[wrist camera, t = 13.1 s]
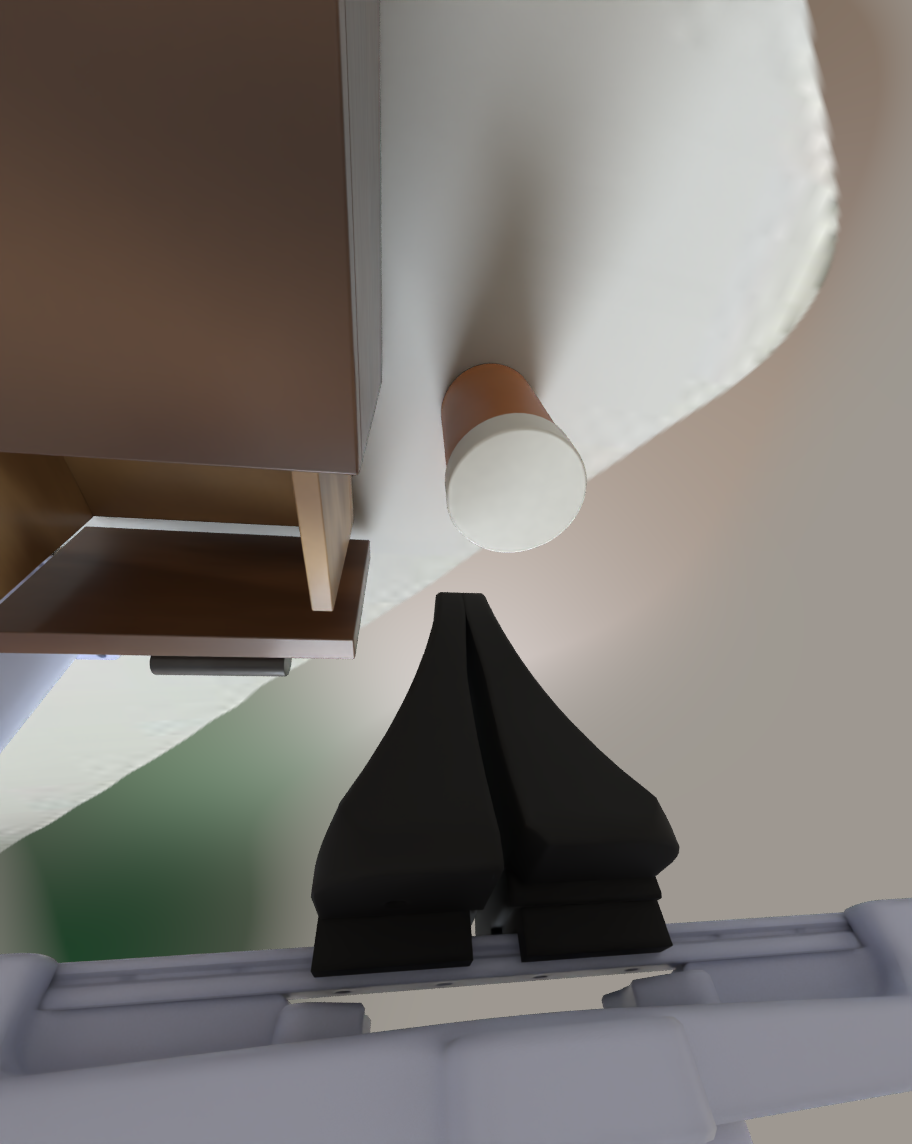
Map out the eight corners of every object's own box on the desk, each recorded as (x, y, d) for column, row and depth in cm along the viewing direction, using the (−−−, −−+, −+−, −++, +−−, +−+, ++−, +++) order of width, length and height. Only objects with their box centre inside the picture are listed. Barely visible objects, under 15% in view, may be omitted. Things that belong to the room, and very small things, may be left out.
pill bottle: (435, 456, 20) (441, 550, 14) (443, 355, 17) (454, 422, 12) (525, 463, 21) (566, 556, 15) (547, 365, 18) (607, 434, 12)
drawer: (371, 613, 25) (358, 715, 20) (127, 605, 24) (43, 715, 18) (361, 255, 14) (328, 275, 9) (-87, 200, 13) (-432, 186, 8)
